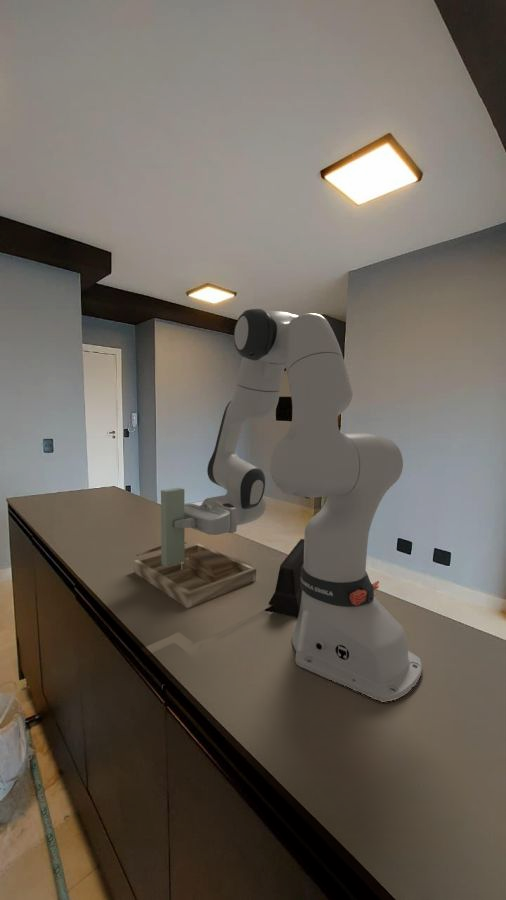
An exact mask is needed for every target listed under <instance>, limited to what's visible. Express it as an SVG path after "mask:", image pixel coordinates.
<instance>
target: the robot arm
mask: <svg viewBox="0 0 506 900" xmlns="http://www.w3.org/2000/svg"><path fill="white" fill-rule="evenodd" d="M233 339H234V347H235V349H236V351H237V353H238V354H239V356H241V357H242V358H241V361H240V366H239V370H238V374H237V381H236V387H235V391H234V395H233V397H232V399H231V400H230V401H229V402H228V403H227V405H226V407H225V409H224V412H223V415H222V418H221V422H220V426H219V431H218V434H217V438H216V442H215V446H214V449H213V453H212V454H211V457H210V459H209V461H208V463H207V470H206V471H207V476H208V479H209V480H210V482H212V483H213V484H215V485H217V486H219V487H222V488H223V489H224V490H226V494H224V495H220V496H219V495H218V496H211V497H206V498H205V499H204V500H203V501H202V503H201V505H198V504H194V503H188V502H187V503H184V519H182V520H180V519H177V520H173V522H172V523H173V525H172V526H173V527H174V528H176V529H178V528H184V529H193V530H196V531H199V532H200V533H204V534H206V535H208V536H209V535H210V536H214V535H215V536H217V535H224V534H234V533H236V532H237V531H238V530H237V529H238V526H242V525H245V524H249V523H252V522H254V521H257V520H258V519H259V518H261V517H262V516H263V515H264V514H265V511H266V508H267V502H266V498H265V496H264V493H265V488H266V476H265V473H264V472H263V470H262V469H261V468H259V467H257V466H256V465H253V464H252V463H251V462H248V461H246V460H244V459H242V458H241V457H239V456H238V454H237V446H238V442H239V440H240V435H241V433H242V428H243V427H244V425H245V424H246V423H252V422H259V421H262V420H265V419H267V418H269V417H270V416H271V415H273V414H274V412H275V411H276V409H277V407H278V404H279V401H280V400H279V399H280V393H281V387H282V382H283V381H282V379H283V373H284V371H286V375H287V380H288V385H289V390H290V392H289V393H290V398H291V405H292V419H291V422H290V426H289V429H288V431H287V432H286V434H285V435H284V436H283V437H282V439H280V440H279V441H278V442H277V444H276V445H275V447H274V448H273V450H272V454H271V456H270V463H269V468H270V475H271V478H272V480H273V482H274V484H275V485H276V486H277V488H278V489H279V491H280V492H281V493H283V494H284V495H288V496H293V497H294V496H295V497H301V498H308V499H309V498H310V499H312V498H322V497H323V498H324V497H327V499H326V501H325V503H324V505H323V506H322V507H321V509H320V510H319V511H318V512H317V513H315V515H314V516H313V517H311V518H310V519H309V520H308V521H307V524H306V526H305V528H304V537H303V539H304V564H303V565H302V567H301V578H300V586H301V589H302V595H301V604H300V610H299V615H298V618H297V620H296V624H295V628H294V631H293V633H292V636H291V643H292V646H293V648H294V651H295V658H294V661H295V664H296V665H297V666H298V667H300V668H303V669H304V670H307V671H309V672H311V673H314V674H316V675H318V676H320V677H323V678H325V679H326V680H330V681H331V680H332V682H334V683H336V682H337V683H336V684H338V683H340V684H342V685H344V686H343V687H345V686H347V687H349V688H352V689H355V690H357V691H359V692H361V693H364V694H366V695H369V696H372V697H373V698H376V699H378V700H382V701H386V700H390V699H394V698H397V697H400V696H401V695H403V694H405V693H406V692H408V691H409V690H411V688H412V687H414V686H415V685H416V686H417V684H418V683H419V682H418V680H419V678H420V676H421V677H422V674H421V673H423V668H422V667H423V666H422V665H423V664H422V660H421V658H420V657H419V656H417V655H416V654H414V653H413V652H411V651H409V646H408V639H407V635H406V631H405V630H404V628H403V626H402V625H401V624H400V623H399V622H398V621H397V620H396V619H395V618H394V617H393V616H392V615H391V613H390V612H389V611H388V610H387V608H385V607H384V605H383V604H381V602H380V601H379V600H378V599H377V598H376V597H375V593H374V592H375V591H376V590H377V589H378V588H379V587H380V586H379V583H380V581H379V580H377V581H375V582H373V583H372V582H371V581H370V578H369V574H368V572H367V571H366V570H367V569H366V568H367V554H368V545H369V544H368V541H369V533H370V529H371V526H372V523H373V519H374V516H375V514H376V512H377V510H378V507H379V505H380V503H381V501H382V500H383V497H384V496H385V495H386V493H387V491H389V490H390V489H391V487H393V486H394V484H395V483H397V482H398V481H399V479H400V477H401V475H402V471H403V468H404V467H403V466H404V461H403V456H402V452H401V449H400V448H399V446H398V445H397V444H396V443H395V442H394V441H393V440H391V439H390V438H387V437H383V436H380V435H377V434H372V433H349V432H348V433H342V432H341V430H340V428H339V421H338V420H339V416H340V415H342V413H344V412H345V411H346V410H347V408H348V407H349V406H350V404H351V401H352V399H353V390H352V386H351V383H350V379H349V375H348V370H347V366H346V363H345V359H344V356H343V353H342V349H341V347H340V344H339V342H338V338H337V337H336V335H335V332H334V330H333V328H332V327H331V325H330V323H329V321H328V319H326V318H325V317H324V316H323V315H321V314H318V313H314V312H313V313H312V312H311V313H310V312H307V313H303V314H300V315H299V314H295V313H294V314H293V313H290V312H287V311H279V310H264V309H262V308H252V309H251V308H250V309H246V310H244V311H243V312H242V313H241V314H240V316H239V317H238V318H237V320H236V322H235V327H234V332H233ZM420 679H421V678H420ZM419 681H420V680H419ZM417 682H418V683H417ZM416 683H417V684H416ZM340 684H339V685H340ZM342 685H341V686H342ZM416 686H415V687H416ZM347 687H346V688H347ZM415 687H414V688H415ZM349 688H348V689H349ZM391 690H392V691H394V692H392V691H391ZM411 691H412V690H411Z"/></svg>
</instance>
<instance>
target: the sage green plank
mask: <svg viewBox="0 0 506 900" xmlns="http://www.w3.org/2000/svg"><path fill="white" fill-rule="evenodd" d="M184 504H185V489H184V488H181V487H175V488H168V489H162V490H160V533H161V534H160V540H161V541H160V544H161V545H160V546H161V550H160V554H161V564H162V565H164V566H166V567H168V566H172V565H175V564H178V563H182V562H185V547H186V546H185V544H186V541H185V528H178V529H176V528H174V527H173V526H172V525H173V523H172V522H173V520H177V519H180V520H182V519H184Z"/></svg>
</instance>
